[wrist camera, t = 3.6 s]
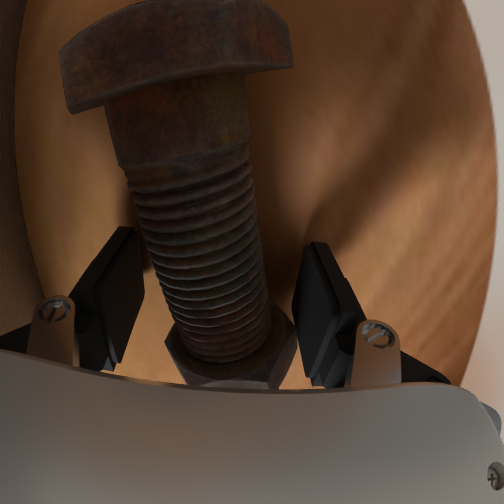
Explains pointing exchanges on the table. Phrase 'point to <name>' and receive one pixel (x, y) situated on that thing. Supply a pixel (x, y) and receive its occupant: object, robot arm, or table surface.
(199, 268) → the bolt
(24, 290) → the frame
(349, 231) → the table surface
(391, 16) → the table surface
